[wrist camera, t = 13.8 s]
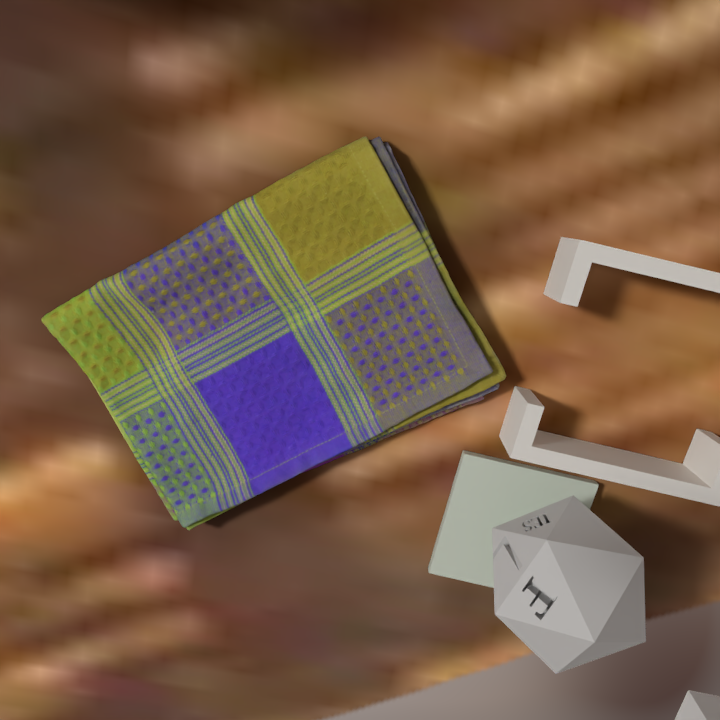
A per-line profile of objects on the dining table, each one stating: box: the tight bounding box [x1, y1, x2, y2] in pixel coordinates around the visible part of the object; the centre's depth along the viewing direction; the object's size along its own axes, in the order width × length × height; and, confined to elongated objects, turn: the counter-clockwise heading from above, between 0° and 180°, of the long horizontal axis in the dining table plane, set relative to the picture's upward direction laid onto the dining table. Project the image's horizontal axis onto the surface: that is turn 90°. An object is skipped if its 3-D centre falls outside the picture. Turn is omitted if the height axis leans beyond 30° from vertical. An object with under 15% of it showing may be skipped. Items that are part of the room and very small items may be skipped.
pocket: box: [499, 237, 720, 506], centre depth 35 cm, size 13×13×4 cm
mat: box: [428, 450, 599, 588], centre depth 40 cm, size 9×9×1 cm
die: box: [492, 495, 646, 674], centre depth 34 cm, size 8×9×10 cm
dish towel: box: [42, 137, 506, 530], centre depth 37 cm, size 18×24×3 cm
